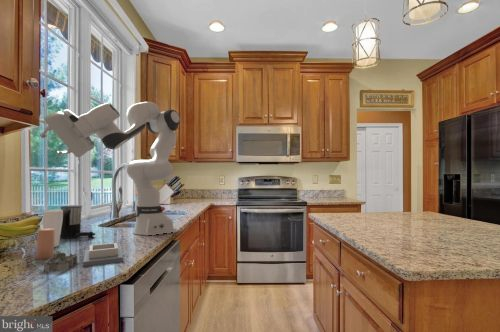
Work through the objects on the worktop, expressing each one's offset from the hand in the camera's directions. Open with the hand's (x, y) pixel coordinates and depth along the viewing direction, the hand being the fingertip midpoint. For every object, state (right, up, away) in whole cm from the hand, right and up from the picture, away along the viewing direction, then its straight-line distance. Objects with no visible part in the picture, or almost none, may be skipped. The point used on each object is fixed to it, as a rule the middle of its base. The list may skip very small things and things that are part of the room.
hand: (49, 145), depth 109 cm
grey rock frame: (+19, -42, -20) cm, 50 cm away
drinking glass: (-1, -42, +2) cm, 42 cm away
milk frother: (-2, -43, +20) cm, 48 cm away
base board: (+27, -42, -10) cm, 51 cm away
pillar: (+7, -42, -11) cm, 44 cm away
